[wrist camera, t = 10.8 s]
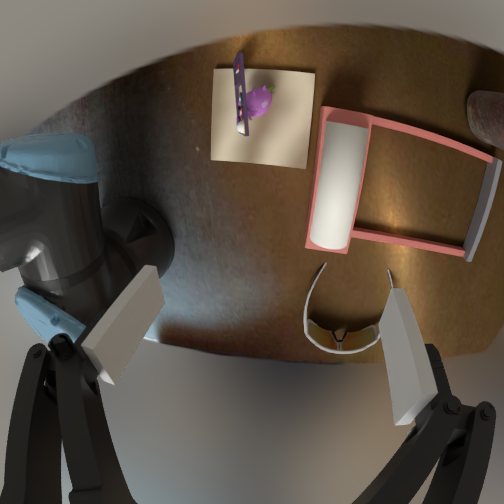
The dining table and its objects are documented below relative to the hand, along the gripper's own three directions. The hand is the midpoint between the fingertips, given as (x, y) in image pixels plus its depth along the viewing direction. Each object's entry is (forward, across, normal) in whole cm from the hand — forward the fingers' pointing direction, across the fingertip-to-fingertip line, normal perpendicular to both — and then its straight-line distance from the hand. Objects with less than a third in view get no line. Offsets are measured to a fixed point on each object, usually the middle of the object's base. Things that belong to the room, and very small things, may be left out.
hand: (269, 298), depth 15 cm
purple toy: (+22, -4, +11) cm, 25 cm away
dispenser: (+23, +16, +1) cm, 28 cm away
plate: (+23, -4, +8) cm, 25 cm away
